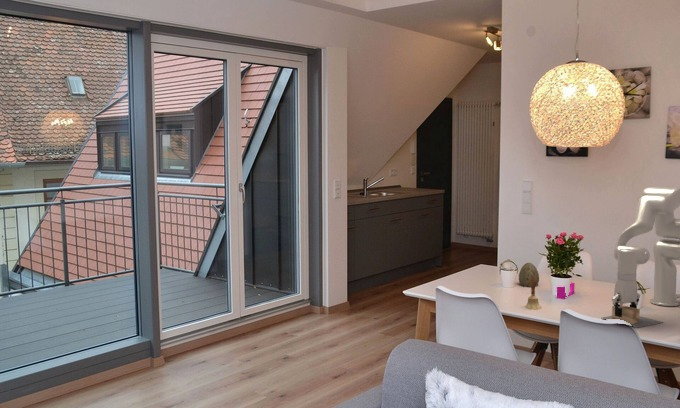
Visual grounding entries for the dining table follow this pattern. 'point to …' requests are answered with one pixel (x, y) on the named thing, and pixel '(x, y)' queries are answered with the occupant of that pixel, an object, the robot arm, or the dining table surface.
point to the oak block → (628, 314)
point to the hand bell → (533, 297)
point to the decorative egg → (528, 275)
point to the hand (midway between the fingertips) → (625, 315)
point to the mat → (641, 322)
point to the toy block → (561, 291)
